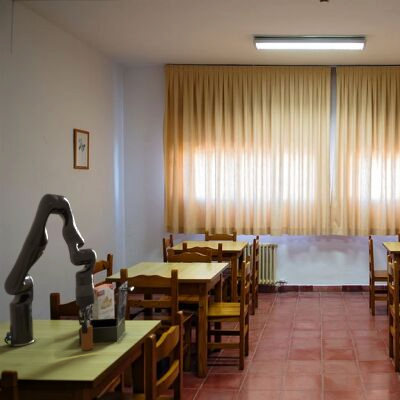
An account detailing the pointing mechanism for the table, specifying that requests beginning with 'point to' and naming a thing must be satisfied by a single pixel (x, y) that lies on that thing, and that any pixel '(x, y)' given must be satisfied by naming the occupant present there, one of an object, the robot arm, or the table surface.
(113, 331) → the warmer
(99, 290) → the cracker box
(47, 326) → the table surface
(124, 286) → the lid
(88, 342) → the bottle
